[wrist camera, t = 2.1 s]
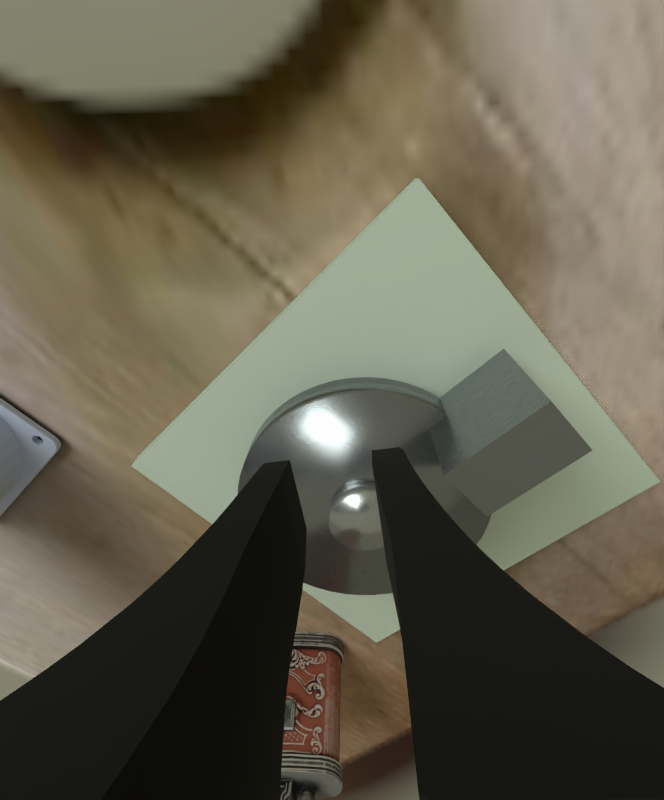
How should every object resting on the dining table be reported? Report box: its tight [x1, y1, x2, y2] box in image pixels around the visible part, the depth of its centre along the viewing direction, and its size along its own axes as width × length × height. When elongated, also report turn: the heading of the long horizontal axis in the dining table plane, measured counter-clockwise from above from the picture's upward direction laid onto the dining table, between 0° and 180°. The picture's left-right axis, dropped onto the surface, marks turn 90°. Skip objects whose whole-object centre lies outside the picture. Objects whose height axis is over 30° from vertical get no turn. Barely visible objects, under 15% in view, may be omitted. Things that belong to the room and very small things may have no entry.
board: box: [131, 178, 660, 643], centre depth 20 cm, size 18×18×6 cm
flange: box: [238, 349, 593, 595], centre depth 18 cm, size 14×11×4 cm
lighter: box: [280, 632, 344, 800], centre depth 25 cm, size 8×3×10 cm, turn 99°
